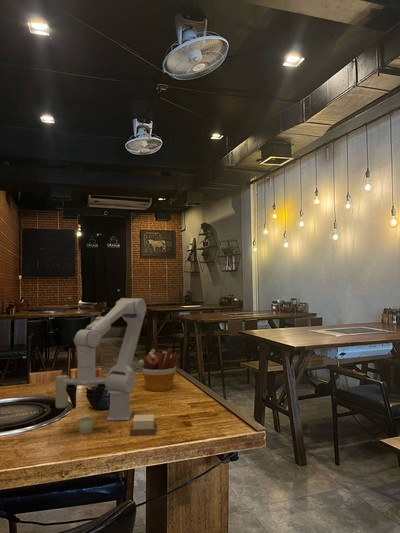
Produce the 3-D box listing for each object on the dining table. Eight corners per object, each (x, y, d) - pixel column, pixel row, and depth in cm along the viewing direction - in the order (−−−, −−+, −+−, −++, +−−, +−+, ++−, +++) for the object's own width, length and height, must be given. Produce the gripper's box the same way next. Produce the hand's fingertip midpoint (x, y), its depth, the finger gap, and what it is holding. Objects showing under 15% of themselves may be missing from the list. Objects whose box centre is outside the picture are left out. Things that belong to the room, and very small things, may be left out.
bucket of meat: (133, 387, 188) (133, 345, 189) (163, 382, 198) (163, 342, 199) (155, 396, 172) (155, 350, 173) (186, 390, 182) (186, 346, 183)
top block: (134, 422, 133) (134, 414, 133) (154, 421, 134) (154, 414, 134) (133, 429, 126) (133, 421, 127) (153, 428, 127) (153, 420, 127)
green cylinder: (80, 429, 132) (80, 417, 132) (94, 429, 132) (94, 417, 132) (77, 434, 128) (77, 421, 128) (91, 434, 128) (91, 421, 128)
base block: (132, 428, 134) (132, 421, 134) (156, 428, 134) (156, 420, 134) (130, 437, 126) (130, 429, 126) (155, 437, 126) (155, 429, 126)
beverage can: (69, 404, 160) (69, 375, 161) (65, 408, 155) (66, 377, 156) (57, 405, 160) (57, 375, 161) (53, 408, 155) (53, 377, 156)
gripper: (60, 368, 127) (60, 412, 126) (106, 368, 128) (106, 410, 127) (66, 364, 134) (66, 405, 133) (110, 363, 135) (109, 404, 134)
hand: (86, 407), depth 130 cm, fingers open, 7 cm apart
